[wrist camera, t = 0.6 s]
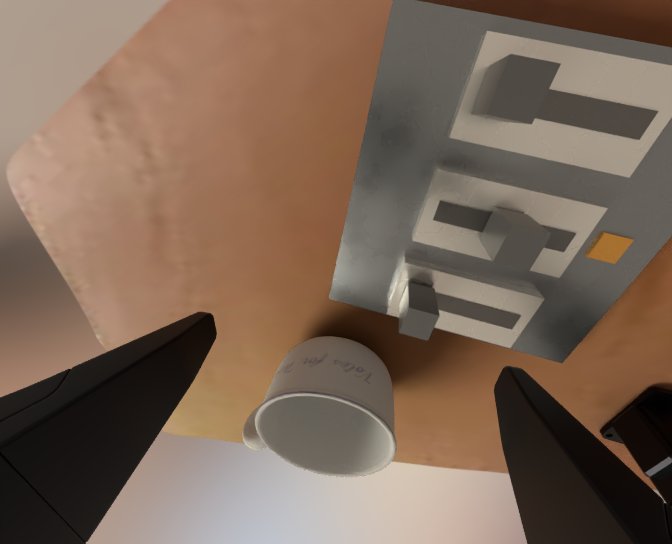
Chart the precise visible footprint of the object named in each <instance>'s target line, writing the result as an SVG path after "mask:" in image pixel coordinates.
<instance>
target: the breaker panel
mask: <svg viewBox="0 0 672 544" xmlns="http://www.w3.org/2000/svg"><path fill="white" fill-rule="evenodd" d="M510 54H515V55H520V56H525V57H530V58H535V59H540V60H545V61H551V62H556V63H561V65H560V67H559V69H558V71H557V73H556V75H555V77H554V79H553V82H552V84H551V86H550V88H549V90H548V92H547V94H546V96H545V98H544V100H543V102H542V104H541V106H540V109H539V111H538V113H537V115H536V117H535V119H534V121H533V123H532V124H522V123H510V122H504V121H500V120H495V119H490V118H486V117H481V116H476V115H472V111H473V108H474V106H475V103H476V100H477V98H478V95H479V92H480V90H481V87H482V84H483V82H484V79H485V77H486V74H487V71H488V69H489V66H490V65H491V64H493V63H495V62H497V61H499V60H500V59H502V58H504V57H506V56H508V55H510ZM494 207H498V208H502V209H507V210H511V211H515V212H519V213H523V214H528V215H529V216H530V217H531V218H533V219H534V220H535V221H536V222H538V223H539V224H540V225H541V226H542V227H544V228H545V229H546V230H547V231H549V232H550V233H551V234H552V235H551V237H550V238H549V240H548V242H547V243H546V245H545V246H544V248H543V250H542V251H541V253H540V254H539V256H538V258H537V259H536V261H535V262H534V264H533V266H532V267H531V269H530V270H529V271H528V270H524V269H520V268H516V267H512V266H508V265H504V264H500V263H496V262H493V261H492V260H491V258H490V256H489V255H488V253H487V251H486V250H485V248H484V246H483V245H482V243H481V241H480V240H479V238H480V236H481V234H482V232H483V230H484V228H485V226H486V224H487V222H488V220H489V218H490V215H491V213H492V211H493V209H494ZM671 236H672V47H666V46H661V45H655V44H650V43H645V42H639V41H634V40H628V39H623V38H618V37H612V36H607V35H601V34H596V33H590V32H585V31H580V30H574V29H569V28H563V27H558V26H553V25H547V24H542V23H536V22H531V21H525V20H520V19H515V18H509V17H504V16H498V15H493V14H488V13H482V12H477V11H471V10H466V9H460V8H455V7H450V6H444V5H439V4H433V3H428V2H423V1H417V0H393V2H392V7H391V11H390V16H389V21H388V25H387V30H386V35H385V39H384V44H383V48H382V53H381V58H380V62H379V67H378V72H377V76H376V81H375V86H374V90H373V95H372V100H371V104H370V109H369V114H368V118H367V123H366V128H365V132H364V137H363V142H362V146H361V151H360V156H359V160H358V165H357V170H356V174H355V179H354V184H353V188H352V193H351V198H350V202H349V207H348V212H347V216H346V221H345V226H344V230H343V235H342V240H341V244H340V249H339V254H338V258H337V263H336V268H335V272H334V277H333V282H332V286H331V291H330V296H329V299H332V300H335V301H339V302H342V303H346V304H350V305H353V306H357V307H360V308H364V309H368V310H371V311H375V312H379V313H382V314H386V315H389V316H393V317H397V318H399V304H400V302H401V299H402V296H403V294H404V291H405V288H406V286H407V283H408V282H412V283H415V284H419V285H423V286H427V287H430V288H434V289H435V293H436V299H437V304H438V310H439V315H440V316H439V318H438V320H437V323H436V325H435V327H434V328H436V329H440V330H444V331H447V332H451V333H454V334H458V335H462V336H465V337H469V338H473V339H476V340H480V341H483V342H487V343H491V344H494V345H498V346H501V347H505V348H509V349H512V350H516V351H520V352H523V353H527V354H530V355H534V356H538V357H541V358H545V359H548V360H552V361H556V362H559V363H563V362H564V360H565V359H566V358H567V357H568V356H569V355H570V354H571V352H572V351H573V350H574V349H575V348H576V347H577V345H578V344H579V343H580V342H581V341H582V340H583V338H584V337H585V336H586V335H587V334H588V333H589V331H590V330H591V329H592V328H593V327H594V326H595V325H596V323H597V322H598V321H599V320H600V319H601V318H602V316H603V315H604V314H605V313H606V312H607V311H608V309H609V308H610V307H611V306H612V305H613V304H614V302H615V301H616V300H617V299H618V298H619V297H620V295H621V294H622V293H623V292H624V291H625V290H626V289H627V287H628V286H629V285H630V284H631V283H632V282H633V280H634V279H635V278H636V277H637V276H638V275H639V273H640V272H641V271H642V270H643V269H644V268H645V266H646V265H647V264H648V263H649V262H650V261H651V260H652V258H653V257H654V256H655V255H656V254H657V253H658V251H659V250H660V249H661V248H662V247H663V246H664V244H665V243H666V242H667V241H668V240H669V239H670V237H671Z"/></svg>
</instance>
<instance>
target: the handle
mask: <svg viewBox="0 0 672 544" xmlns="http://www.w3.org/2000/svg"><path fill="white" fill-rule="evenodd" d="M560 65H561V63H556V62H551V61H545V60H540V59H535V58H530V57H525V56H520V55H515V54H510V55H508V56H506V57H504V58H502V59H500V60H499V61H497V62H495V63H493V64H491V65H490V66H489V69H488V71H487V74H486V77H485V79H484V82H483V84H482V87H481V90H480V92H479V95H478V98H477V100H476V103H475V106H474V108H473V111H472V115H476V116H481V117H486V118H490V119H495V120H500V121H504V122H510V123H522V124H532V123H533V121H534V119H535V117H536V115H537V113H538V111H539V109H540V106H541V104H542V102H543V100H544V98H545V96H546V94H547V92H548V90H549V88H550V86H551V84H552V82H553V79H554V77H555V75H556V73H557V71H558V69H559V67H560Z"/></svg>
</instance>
